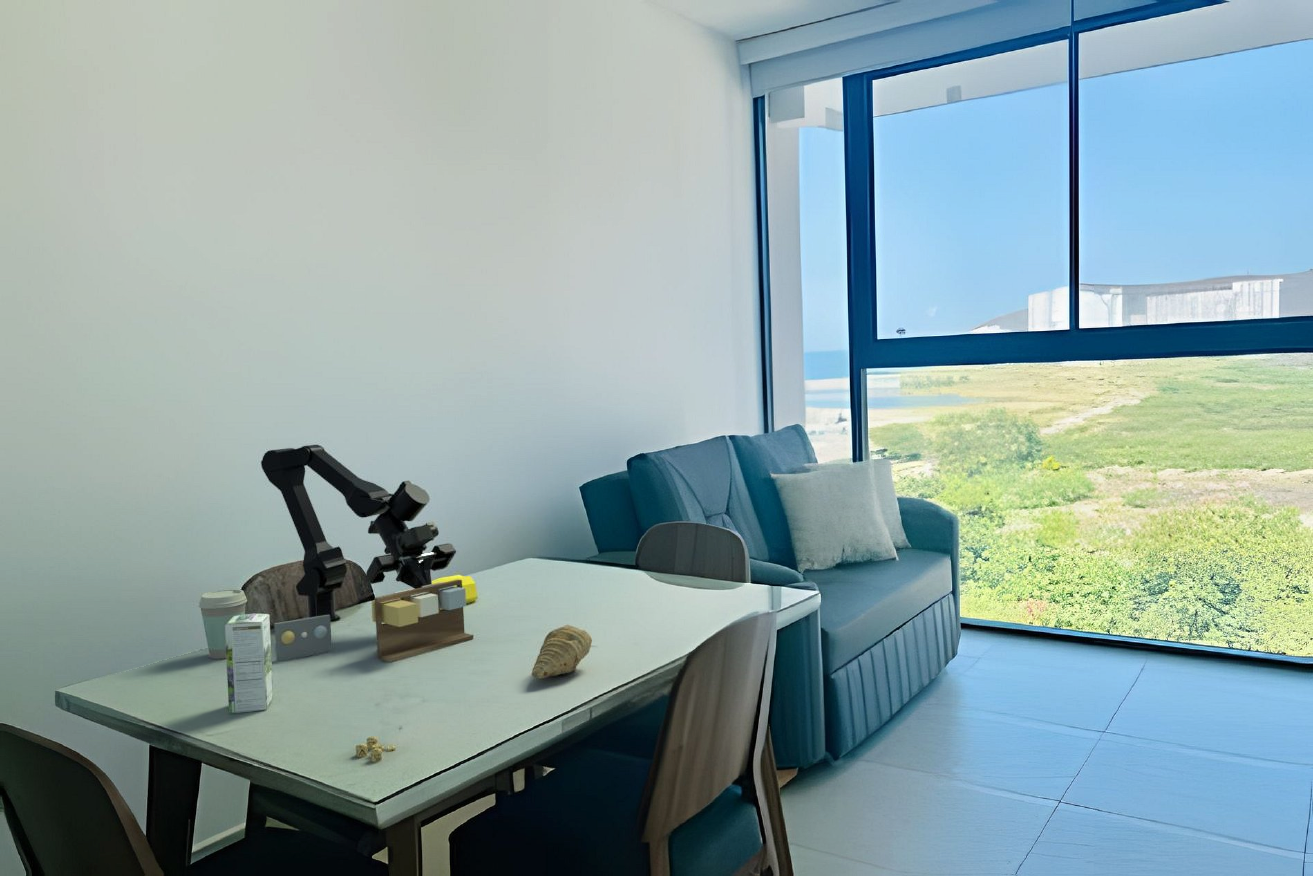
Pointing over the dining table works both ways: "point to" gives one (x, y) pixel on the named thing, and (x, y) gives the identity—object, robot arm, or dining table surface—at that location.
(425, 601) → the middle button
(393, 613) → the left button
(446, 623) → the button board
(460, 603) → the right button
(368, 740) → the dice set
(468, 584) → the yellow curved piece
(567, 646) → the seashell
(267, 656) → the syrup box
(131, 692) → the dining table surface
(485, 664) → the dining table surface
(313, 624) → the card
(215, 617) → the coffee cup
